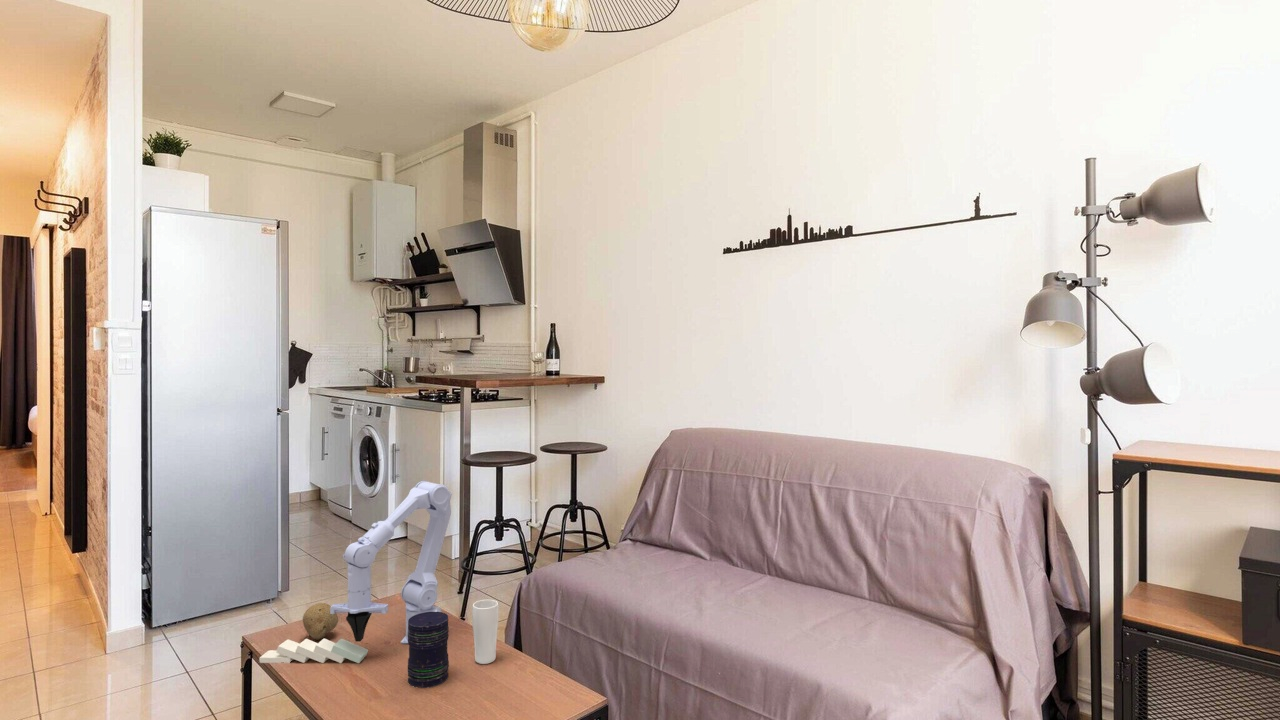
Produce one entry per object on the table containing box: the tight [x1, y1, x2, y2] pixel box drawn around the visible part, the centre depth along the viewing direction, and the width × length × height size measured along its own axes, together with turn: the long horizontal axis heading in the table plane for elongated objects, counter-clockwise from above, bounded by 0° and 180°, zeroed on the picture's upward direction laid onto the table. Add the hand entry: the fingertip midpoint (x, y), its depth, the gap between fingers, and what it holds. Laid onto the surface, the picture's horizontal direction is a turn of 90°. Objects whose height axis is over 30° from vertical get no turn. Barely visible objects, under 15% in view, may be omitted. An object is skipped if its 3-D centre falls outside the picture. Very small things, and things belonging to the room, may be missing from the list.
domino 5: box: [331, 638, 369, 664], centre depth 178 cm, size 2×4×8 cm
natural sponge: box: [302, 602, 339, 641], centre depth 192 cm, size 9×9×10 cm
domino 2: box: [276, 639, 311, 664], centre depth 179 cm, size 2×4×8 cm
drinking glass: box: [471, 599, 499, 665], centre depth 178 cm, size 7×7×15 cm
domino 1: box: [259, 649, 295, 664], centre depth 179 cm, size 2×4×8 cm
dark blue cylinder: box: [407, 611, 450, 689], centre depth 168 cm, size 10×10×15 cm
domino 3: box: [295, 638, 330, 664], centre depth 178 cm, size 2×4×8 cm
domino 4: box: [313, 638, 347, 664], centre depth 178 cm, size 2×4×8 cm
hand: (359, 640), depth 178 cm, fingers closed
